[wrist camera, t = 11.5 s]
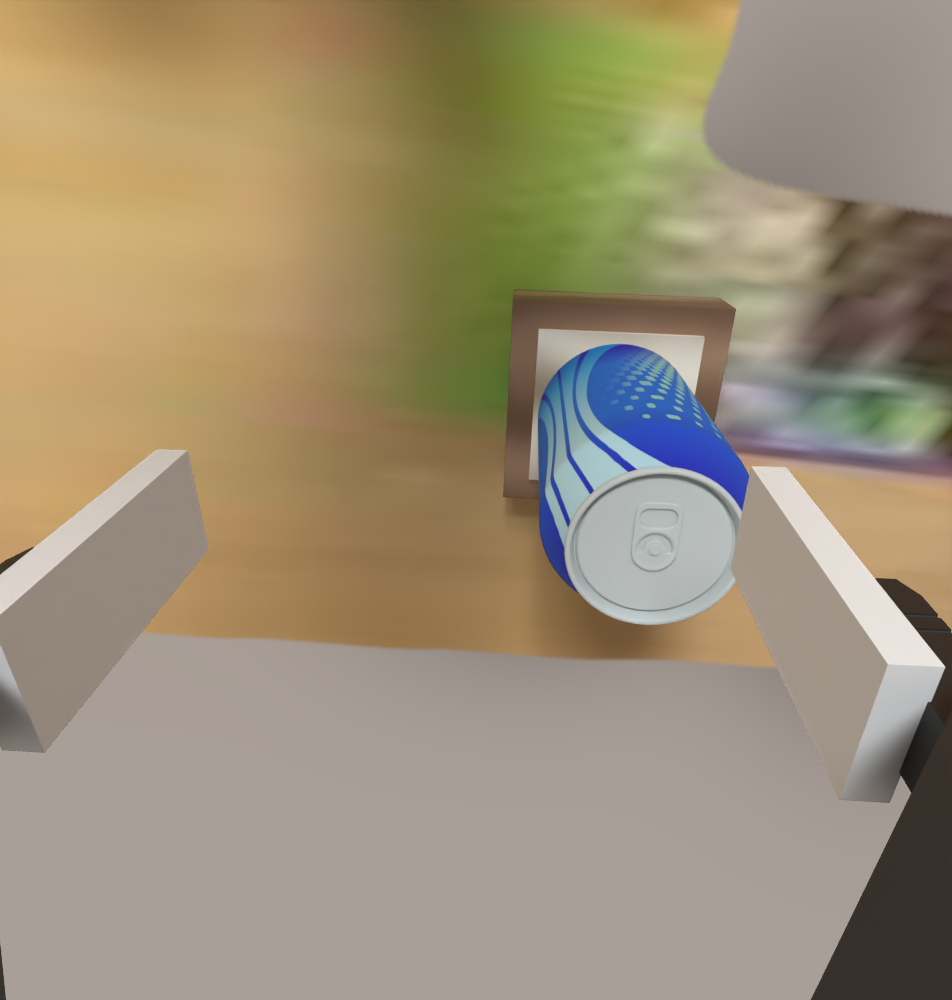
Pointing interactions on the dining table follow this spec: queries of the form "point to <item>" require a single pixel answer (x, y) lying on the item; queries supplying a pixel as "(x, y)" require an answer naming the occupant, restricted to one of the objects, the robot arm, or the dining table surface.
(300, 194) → the dining table surface
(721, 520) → the beer can
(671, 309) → the base slab
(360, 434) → the dining table surface
